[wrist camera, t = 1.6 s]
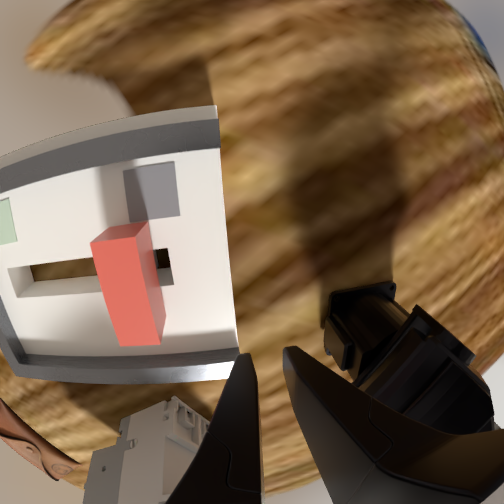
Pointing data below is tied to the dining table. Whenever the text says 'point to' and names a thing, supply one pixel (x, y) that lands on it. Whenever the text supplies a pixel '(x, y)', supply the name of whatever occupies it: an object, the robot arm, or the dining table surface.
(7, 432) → the sunglasses case
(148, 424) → the circuit breaker
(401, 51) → the dining table surface
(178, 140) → the grey frame
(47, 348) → the switch panel
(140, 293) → the lever
